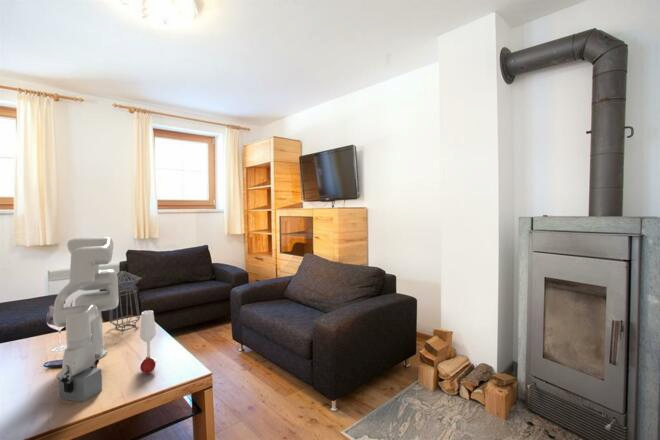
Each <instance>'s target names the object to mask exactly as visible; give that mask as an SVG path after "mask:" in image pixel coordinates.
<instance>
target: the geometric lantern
mask: <svg viewBox="0 0 660 440" xmlns="http://www.w3.org/2000/svg"><path fill="white" fill-rule="evenodd" d="M116 273H117V272H116ZM117 277H118V286H120V287H122V288H123V289H122V290H120V291H119V290H118V296H119V305H118V306H119V307H120V316H121V317H120V318H119V317H118V315H119V314H118V313H119V312H118V309H119V308H118V306H117V307H116V319H113V311H114V309H111V310H109V323H110V324H112V325H114V326H115V329H116V330H119V331H123V332H124V331H127V330H129V329H134V328H135V327H137V324H136V323H137V322H139V320H141V315H140V309H139V300H138V299H139V298H138V293H137V292H138V290H136V289H135V288H134V286H136V284H138V282H139V281H140V280H142V279H143V278H142V277H140V276H138V275H135V274H133V273H130V272H128V271H126V270H125V271H123V270H121V271H119V272H118V273H117ZM126 280H127V281H126ZM126 283H130V285H127V284H126ZM123 284H124V285H123ZM133 285H134V286H133ZM126 288H129V289H126ZM131 291H132V292H131ZM122 292H125V293H124V294H122ZM131 294H133V297H134V303H135V311H136V315H137V316H136V315H133V306H132V299H131ZM128 295H129V302H130V303H129V304H130V311H131V315H129V311H128V307H129V306H128ZM121 296H125V298H126V299H125V300H126V316H123V311H122V310H123V309H122V308H123V307H122V299H121ZM129 317H130V318H129ZM125 318H126V321H124V320H123V319H125ZM128 318H129V319H128ZM133 318H137V319H134V320H132V319H133ZM119 320H121V323H119ZM115 321H116V323H115ZM128 326H132V327H129V328H126V327H128ZM120 328H121V329H120Z"/></svg>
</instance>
